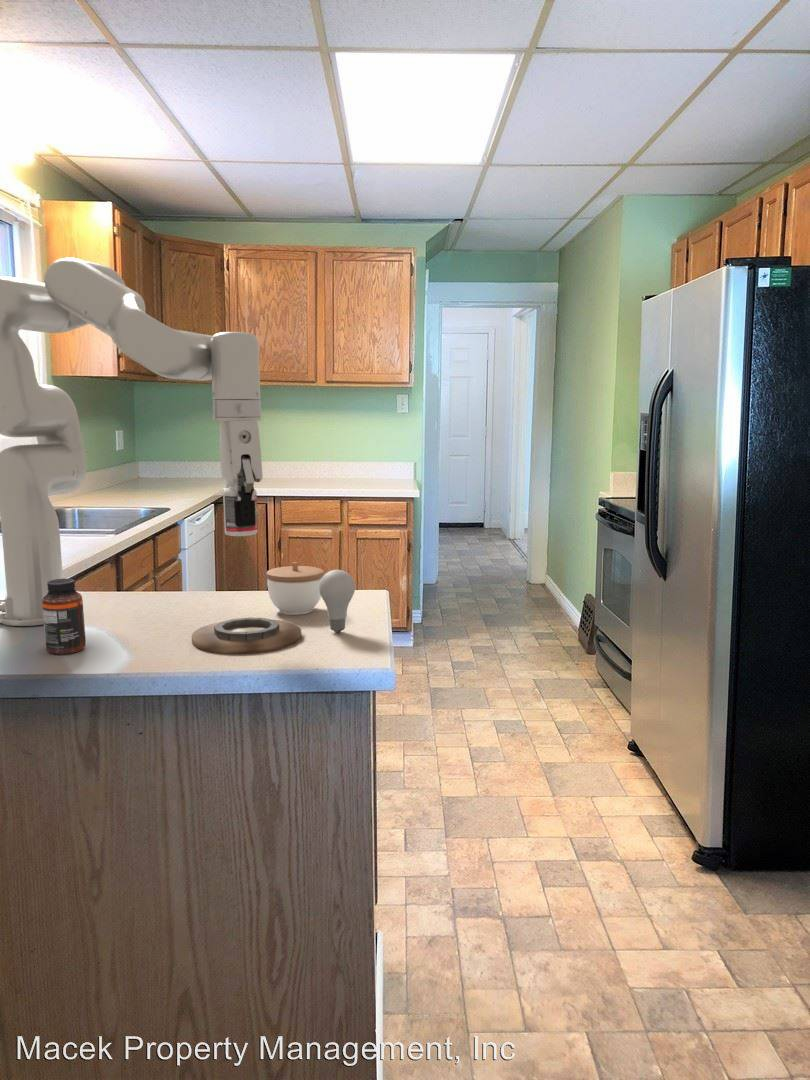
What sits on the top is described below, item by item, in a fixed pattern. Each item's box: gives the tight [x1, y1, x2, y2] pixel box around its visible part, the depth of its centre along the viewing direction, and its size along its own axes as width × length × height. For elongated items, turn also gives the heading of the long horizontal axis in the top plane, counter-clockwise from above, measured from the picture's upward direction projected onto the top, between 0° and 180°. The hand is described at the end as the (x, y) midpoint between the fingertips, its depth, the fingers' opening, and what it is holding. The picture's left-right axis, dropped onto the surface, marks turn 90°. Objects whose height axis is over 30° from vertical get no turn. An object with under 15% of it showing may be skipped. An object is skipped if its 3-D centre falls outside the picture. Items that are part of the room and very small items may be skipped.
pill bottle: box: [222, 474, 259, 537], centre depth 135 cm, size 5×5×10 cm
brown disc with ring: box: [191, 617, 302, 655], centre depth 139 cm, size 18×18×2 cm
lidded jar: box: [266, 561, 325, 616], centre depth 157 cm, size 11×11×9 cm
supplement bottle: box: [42, 578, 87, 656], centre depth 131 cm, size 6×6×11 cm
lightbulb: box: [319, 569, 356, 634], centre depth 141 cm, size 6×6×11 cm
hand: (240, 522), depth 136 cm, fingers closed on pill bottle, 5 cm apart
